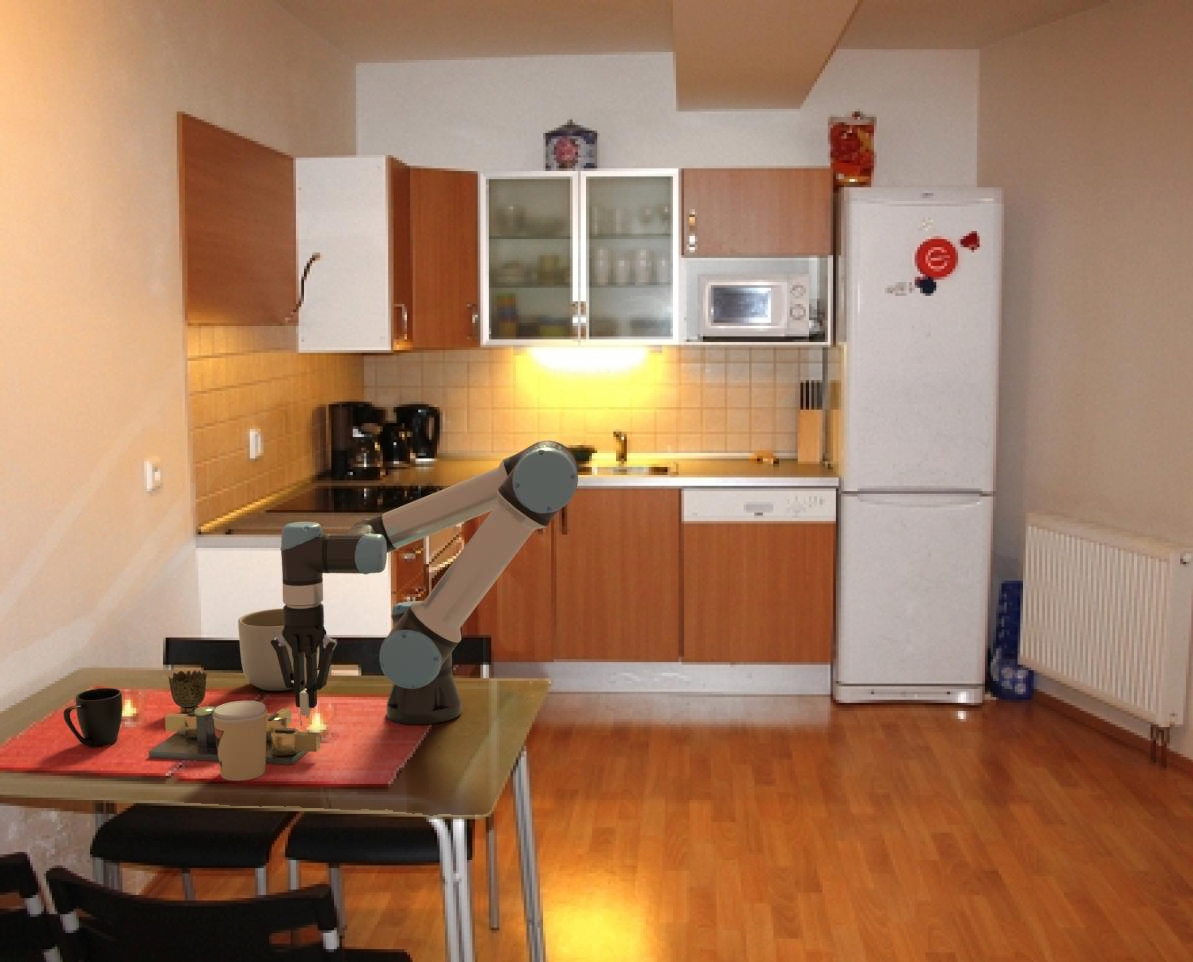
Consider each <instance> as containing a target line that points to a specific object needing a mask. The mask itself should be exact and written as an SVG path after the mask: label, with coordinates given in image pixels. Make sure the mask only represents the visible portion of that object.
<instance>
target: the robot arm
mask: <svg viewBox="0 0 1193 962" xmlns="http://www.w3.org/2000/svg"><path fill="white" fill-rule="evenodd" d="M578 469H579V467H578V462H577V460H576V457H575V456H574V454H573V452H572V451H571V450H570V448H568V447H567V446H566V445H564V444H562V443H560V442H557V441H556V440H555V441H554V440H542V441H539V442H538V441H537V442H535V443H533V444H530V445H529V446H528V447H527V448H524V449H522V450H521V451H519V452H517V453H515V454H513V455H511V456H508V457H506V458H504V459H502V460H501V461H500V464H499V465H498V467H495V468H493V469H490V470H488V471H486V472H483V473H479V474H478V475H475V476H472V477H471V478H468V479H466V480H464V481H461V482H458V483H455V484H453V485H451V486H449V487H446V488H443V489H441V490H438V491H436V492H434V493H431V494H429V495H426V496H424V497H421V498H419V499H416V500H413V501H411V502H409V503H406V504H404V505H401V506H399V507H397V508H394V509H392V510H388V511H386V512H384V513H382V514H380V515H377V516H374V517H372V518H366V519H362V520H359V521H358V522H356V523H355V524H353V526H351V528H350V529H349V531H348V532H347V533H325V532H324V533H323V530H322V525H321V524H320V523H318V522H315V521H313V522H311V521H296V522H295V521H294V522H290V523H287V524H286V525H284V526H283V527H282V529H281V541H280V543H281V545H280V554H281V555H280V557H281V576H282V577H281V578H282V602H283V604H284V606H283V607H282V609H283V618H284V629H283V631H282V635H280V636H278V637H276V638H274V639H273V640H271V645H272V646H273V648H274V649H275V651H276V653H277V657H278V661H279V665H280V668H281V672H282V676H283V680H284V683H285V686H286V688H291V690H293V691H294V693H295V694H294V695H295V696H294V697H295V707H296V708H299V711H300V713H299V714H300V715H299V717H300V719H299V720H300V726H302V721H301V714H302V716H303V715H304V716H305V715H306V716H307V717H306V718H308V717H309V715H310V711H311V709H312V708H313V709H315V708H316V707H317V705H318V691H320V690H321V689H323V688H324V687H326V686H327V683H328V678H329V673H330V667H331V663H332V661H333V660H332V659H333V656H334V651H335V649H336V648H337V646H338V644H339V640H338V639H337V638H331V637H330V636H329V635H327V630H326V628H325V616H324V615H325V610H324V609H325V608H324V604H323V601H324V582H323V581H324V579H323V574H356V575H357V574H359V575H361V574H363V575H369V574H380V573H382V572H383V571H385V569H386V564H387V560H388V559H387V558H388V553H391V552H393V551H395V550H397V549H400V548H402V547H404V546H407V545H409V544H412V543H414V542H416V541H419V540H422V539H425V538H427V537H430V536H432V535H434V534H438V533H439V532H442V531H445V530H447V529H450V528H452V527H455V526H457V525H459V524H462V523H465V522H468V521H470V520H473V519H474V518H478V517H480V516H482V515H485V514H488V513H489V512H490V513H489V514H488V515H487V517H486V518H485V519H484V521H483V522H482V523H481V524H480V526H479V528H478V529H477V530H476V531H475V533H474V534H473V535H472V537H471V538H470V539H469V541H468V542H467V543H466V545H464V547H463V549H462V550H461V552H460V553H459V554H458V555H457V557H456V558H455V559H454V561H453V562H452V563H451V565H450V566H449V567H448V568H447V570H446V571H445V573H444V574H443V575H442V577H441V578H440V579H439V581H437V583H436V584H435V586H434V587H433V588H432V590H431V591H430V592H429V594H428V595H427V597H426V598H425V599H424V600H417V601H415V600H414V601H404V602H397V603H396V604H394V605H393V606H392V609H391V610H392V612H391V615H390V616H391V617H390V618H391V619H392V628H391V630H390V632H389V633H388V635H387V636H386V637H385V638H384V640H383V641H382V643H381V645H380V649H379V660H378V661H379V665H380V668H381V670H382V673H383V674H384V676H385V677H386V678H387V679H388V681H390V682H391V683H392V685H391V688H390V691H389V695H388V698H387V702H386V717H387V718H388V719H389V720H391V721H393V722H395V723H398V724H399V723H400V724H404V725H405V724H406V725H433V724H439V723H443V722H447V721H450V720H454V719H456V718H458V717H460V715H461V714H462V712H463V707H462V705H463V703H462V698H461V695H460V693H459V690H458V687H457V684H456V682H455V681H456V680H455V679H454V677H453V659H452V657H453V656H452V653H453V651H454V650H455V649H456V647H457V646H458V645H459V643H460V642H461V641H462V634H461V628H462V627H463V625H464V624H465V622H466V621H467V619H468V618H469V617H470V616H471V615H472V613H473V612H474V610H475V609H476V608H477V606H478V605H479V604H480V602H481V601H483V598H484V597H485V596H486V594H487V593H488V592H489V591H490V590H491V588H492V587H493V586H494V584H495V583H496V581H497V580H498V579H499V577H500V576H501V575H502V573H503V572H504V570H505V569H506V568H507V567H508V565H509V564H510V563H511V562H512V560H513V559H514V558H515V556H516V555H517V554H518V552H519V551H520V549H521V548H522V547H524V546H523V545H524V544H525V543H526V541H528V539H529V537H530V536H531V535H532V534H533V533H534V531H536V530H541V529H547V527H548V526H549V525H550V523H551V522H552V521H553V519H554V518H555V517H556V516H557V514H558V513H559V511H560V510H561V509H563V508H564V507H565V506H567V505H568V504H569V503H570V502H571V500H572V499H573V497H574V495H575V493H576V491H577V487H578V483H579V475H578V474H579V470H578ZM285 640H286V641H285ZM286 642H287V643H288V644H289V646H290V647H291V649H292V657H293V669H292V665H291V661H290V657H289V654H288V650H287V647H286ZM322 643H323V645H322V646H323V649H324V650H323V652H322V654H321V660H320V665H319V669H318V668H317V652H318V651H317V648H318V647H319V648H320V645H321V644H322ZM304 653H305V658H306V674H307V683H306V684H305V675H304ZM293 670H294V673H293ZM305 687H306V688H305Z"/></svg>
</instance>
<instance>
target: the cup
mask: <svg viewBox="0 0 1193 962" xmlns="http://www.w3.org/2000/svg"><path fill="white" fill-rule="evenodd" d="M207 676H208V673H207V672H205V671H203V672H201V671H200V670H198V671H197V670H196V669H194V670H193V671H192V673H191V670H187V671H186V673H185V672H184V671H182V670H180V671H179V672H177V673H176V672H173V673H172V677H171V676H170V675H168V682H169V683H168V684H169V689H170V694H171V697H172V701H173V702H174V703H175V705H177V706H178V707H180V708H179V711H180V714H189V713H193V712H195V709H197V708H200V707H199V706H200V704H202V702H203V701H204V700H205V697H206V690H207Z"/></svg>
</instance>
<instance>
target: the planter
mask: <svg viewBox="0 0 1193 962" xmlns="http://www.w3.org/2000/svg"><path fill="white" fill-rule="evenodd" d="M237 623H238V624H237V626H238V638H239V640H238V641H239V651H240V659H241V660H240V662H241V667H242V672H243V674H244V677H245V678H246V680H247V681H248V682H249V683H250V684H251V685H252V686H254V687H255V688H257V689H260V690H262V691H267V692H282V691H284V692H285V691H289V690H290V691H292V689H291V688H286V686H285V683H284V680H283V676H282V672H281V668H280V665H279V661H278V657H277V653H276V651H275V649H274V648H273V646H272V645H271V640H273V639H274V638H276V637H278V636H280V635H282V631H283V629H284V618H283V608H272V609H263V610H258V611H253V612H250V613H247V614H244V615H243V616H240V617H239V618H238V621H237ZM285 641H286V640H285ZM286 647H287V650H288V654H289V657H290V661H291V665H292V669H293V657H292V649H291V647H290V646H289V644H288V643H287V642H286ZM317 651H318V652H317V669H318V667H319V660H320V646H319V647H318V648H317ZM293 673H294V670H293ZM304 675H305V684H306V685H307V674H306V658H305V653H304Z"/></svg>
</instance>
